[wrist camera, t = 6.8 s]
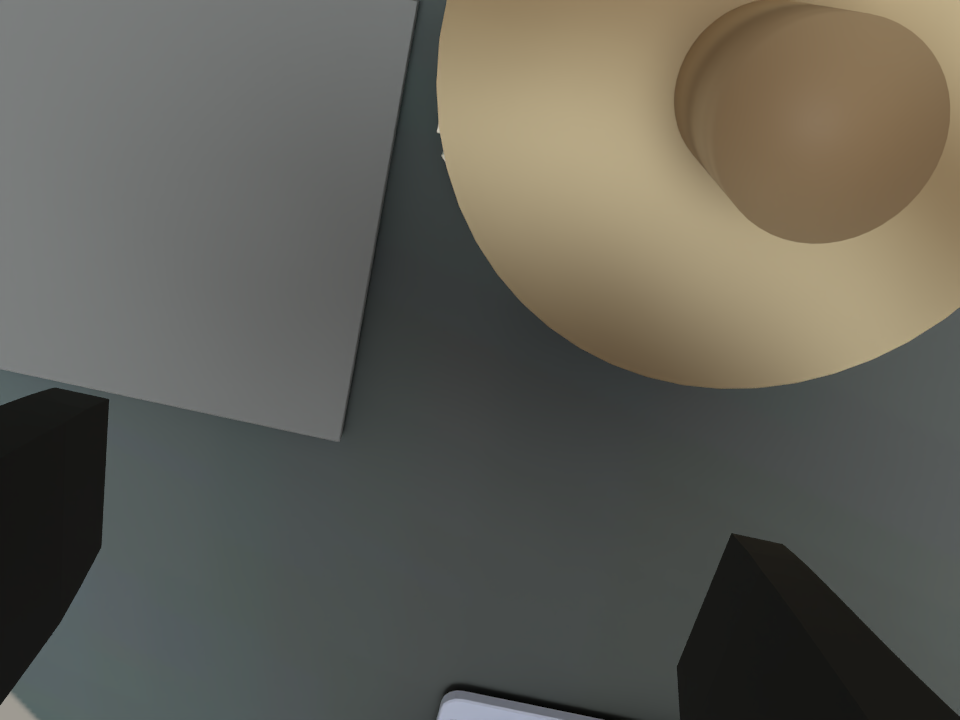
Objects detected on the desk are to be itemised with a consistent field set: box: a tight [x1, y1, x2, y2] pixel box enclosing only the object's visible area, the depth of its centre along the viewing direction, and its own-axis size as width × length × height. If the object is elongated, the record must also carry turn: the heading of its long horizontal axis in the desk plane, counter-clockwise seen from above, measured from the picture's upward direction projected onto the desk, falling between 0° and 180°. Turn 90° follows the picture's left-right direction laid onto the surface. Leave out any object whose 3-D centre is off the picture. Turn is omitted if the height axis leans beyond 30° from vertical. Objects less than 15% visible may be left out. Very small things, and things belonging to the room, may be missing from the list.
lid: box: [436, 0, 960, 389], centre depth 13 cm, size 10×10×4 cm
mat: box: [0, 0, 419, 442], centre depth 19 cm, size 10×10×1 cm
